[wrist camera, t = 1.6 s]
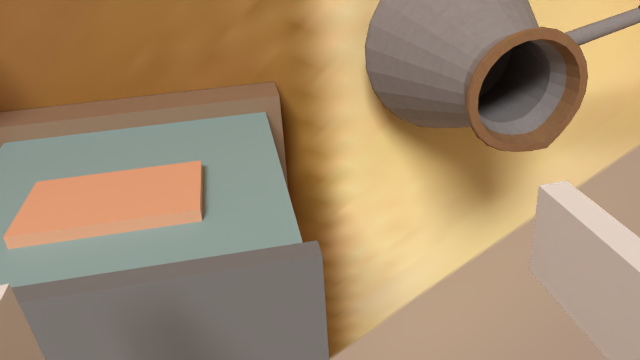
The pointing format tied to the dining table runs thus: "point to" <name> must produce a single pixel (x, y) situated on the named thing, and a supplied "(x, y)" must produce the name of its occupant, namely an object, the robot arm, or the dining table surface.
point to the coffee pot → (481, 67)
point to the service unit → (159, 230)
